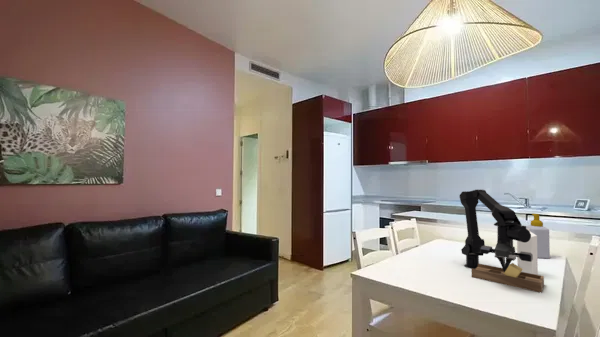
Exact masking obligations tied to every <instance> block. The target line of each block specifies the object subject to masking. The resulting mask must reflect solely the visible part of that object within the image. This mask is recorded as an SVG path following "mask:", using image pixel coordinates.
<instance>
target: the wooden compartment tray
mask: <svg viewBox="0 0 600 337" xmlns="http://www.w3.org/2000/svg"><path fill="white" fill-rule="evenodd" d="M471 278H475V279H479V280H484V281H488V282H493V283H496V284H499V285H500V284H501V285H506V286H509V287H515V288H518V289H523V290H527V291H533V292H536V293H540V292H541V293H543V292H542V291H543V288H544V286H545V276H544V275H541V274H538V275H536V274H530V273H525V272H521V273H520V274H519V276H518V277H517V278H516V277H511V276H507V275H505V274H504V271H503V268H502V267H498V266H492V265H488V264H483V263H479V264H478V267H477V268H476V269H475V268H471Z"/></svg>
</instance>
